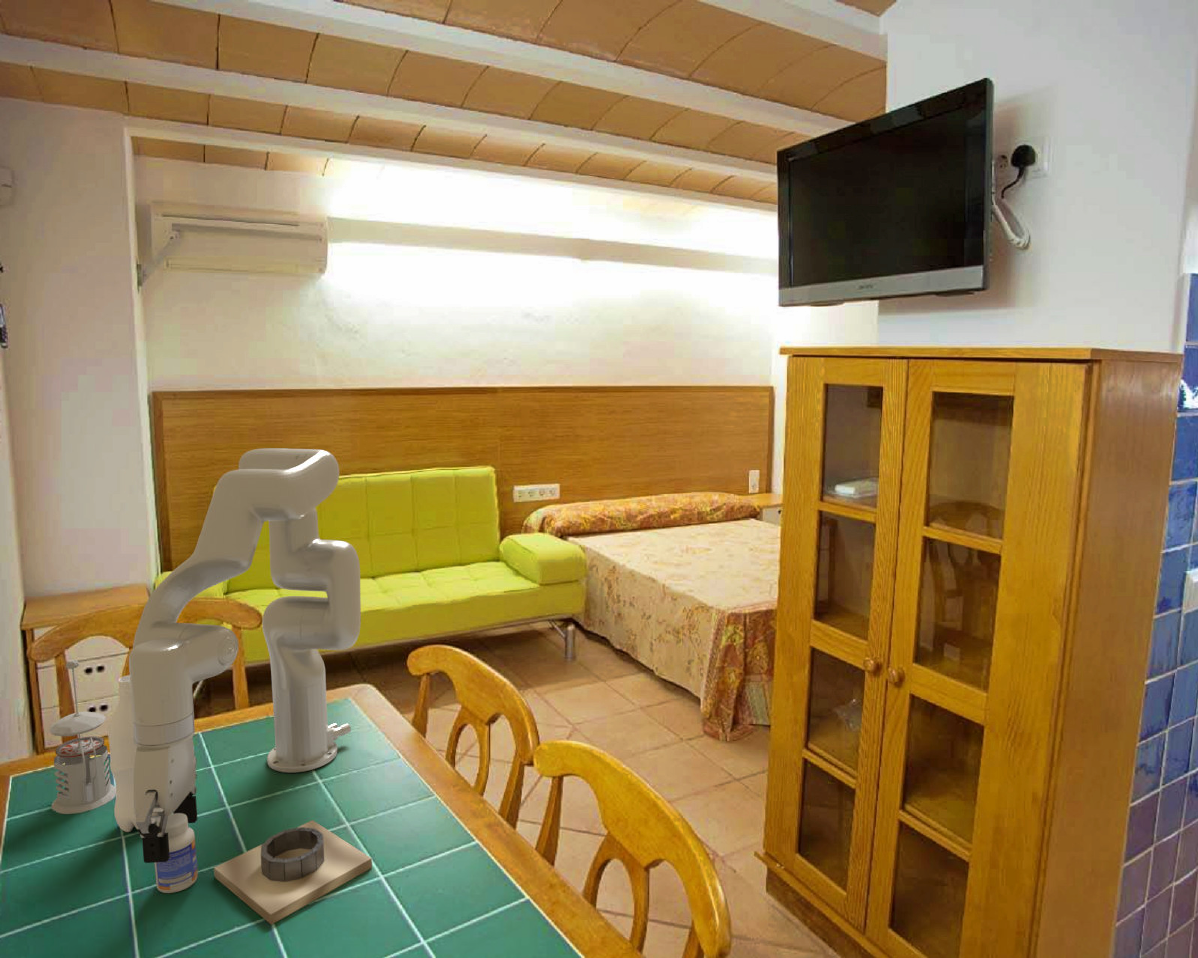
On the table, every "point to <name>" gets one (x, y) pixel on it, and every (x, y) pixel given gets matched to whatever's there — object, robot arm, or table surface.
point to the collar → (297, 865)
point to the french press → (81, 762)
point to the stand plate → (290, 896)
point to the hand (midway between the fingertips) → (171, 840)
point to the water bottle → (124, 758)
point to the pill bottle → (177, 857)
